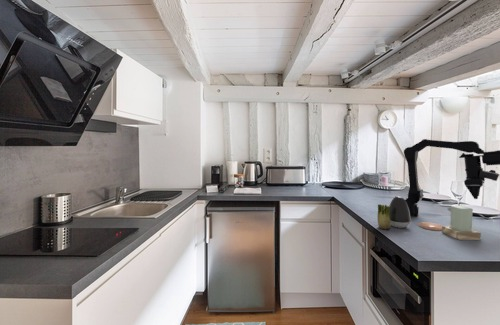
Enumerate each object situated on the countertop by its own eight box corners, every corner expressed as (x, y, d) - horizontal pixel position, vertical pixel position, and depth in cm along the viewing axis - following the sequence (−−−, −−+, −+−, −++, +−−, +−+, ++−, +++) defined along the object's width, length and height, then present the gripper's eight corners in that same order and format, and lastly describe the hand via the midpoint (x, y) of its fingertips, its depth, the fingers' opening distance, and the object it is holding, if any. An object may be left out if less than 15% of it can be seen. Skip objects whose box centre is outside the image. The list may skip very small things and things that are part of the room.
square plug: (450, 233, 106) (451, 205, 105) (460, 233, 106) (462, 205, 105) (459, 238, 101) (461, 208, 100) (471, 237, 101) (472, 208, 100)
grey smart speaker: (406, 223, 121) (407, 194, 120) (413, 230, 111) (414, 199, 110) (384, 222, 124) (385, 194, 123) (389, 228, 114) (389, 198, 113)
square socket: (442, 232, 108) (442, 225, 108) (461, 231, 108) (461, 225, 108) (459, 240, 99) (459, 233, 99) (480, 239, 99) (480, 232, 99)
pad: (417, 227, 115) (418, 226, 115) (419, 222, 122) (419, 220, 122) (444, 232, 108) (444, 230, 108) (444, 226, 116) (444, 224, 116)
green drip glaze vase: (375, 226, 117) (376, 203, 117) (385, 226, 117) (386, 203, 116) (381, 230, 112) (382, 206, 111) (392, 230, 111) (392, 206, 111)
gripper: (496, 166, 103) (500, 201, 103) (497, 163, 116) (500, 194, 116) (462, 167, 112) (466, 200, 111) (466, 165, 124) (470, 194, 124)
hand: (476, 197), depth 115 cm, fingers open, 9 cm apart
